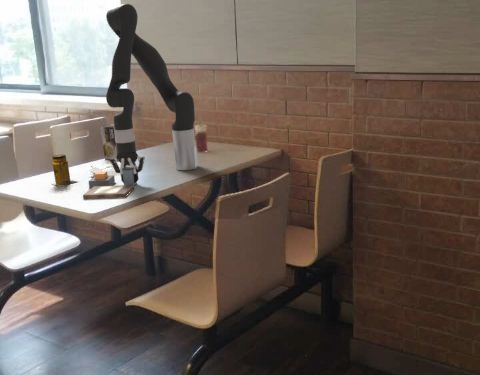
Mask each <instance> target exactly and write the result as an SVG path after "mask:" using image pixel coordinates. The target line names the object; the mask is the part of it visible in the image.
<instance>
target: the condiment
mask: <svg viewBox="0 0 480 375" xmlns="http://www.w3.org/2000/svg"><path fill="white" fill-rule="evenodd" d="M68 163H69V162H68V160H67V157H66V154H55V155H53V156H52V168H53V174H54V175H53V176H54V182H55V183H52V185H54V186H59V187H65V186H68V185H71V184H74V183H77V182H79V181H78V180H72V179H71V176H70V174H71V173H70V168H69V164H68Z"/></svg>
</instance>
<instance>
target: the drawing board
mask: <svg viewBox="0 0 480 375" xmlns="http://www.w3.org/2000/svg"><path fill="white" fill-rule="evenodd" d="M132 189H133V190H135V186H133V185H124V184H123V185H121V184H120V185H111V186H94V187H92V188H89V189H88V190H87V191H86V192H85V193H84V194H83V195H82V197H83V200H85V199H86V200H87V199H88V200H89V199H90V200H91V199H92V200H93V199H94V200H95V199H116V198H117V199H118V198H119V197H125V196H126V195H127V194H128V193H129V192H130V191H131V192H132V191H133V190H132ZM131 192H130V193H131ZM130 193H129V194H130ZM129 194H128V195H129ZM128 195H127V196H128ZM127 196H126V197H127ZM126 197H125V198H126ZM119 199H120V198H119Z"/></svg>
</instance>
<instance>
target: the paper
mask: <svg viewBox="0 0 480 375" xmlns="http://www.w3.org/2000/svg"><path fill="white" fill-rule="evenodd" d="M117 164H118V166H119V168H120V167H121V163H120V162H119V161H117ZM127 166H128V165H127ZM107 168H109V169H107ZM120 169H121V168H120ZM105 171H107V174H108V175H114V177H117V175H118V176H121V174H120V173H116V172H115V170H114V168H113V165H112V164H110V165H108V166H105V167H103V168H102V167H101V168H99V167H95V166H93V165H91V166H90V170H88V172H90V173H94V174H95V173H97V172H105Z"/></svg>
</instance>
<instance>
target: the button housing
mask: <svg viewBox="0 0 480 375" xmlns="http://www.w3.org/2000/svg"><path fill="white" fill-rule="evenodd" d="M115 183H116V179H115V176H114V175H108V178H106V179H103V180H95V176H93V177H92V178H91V179H89V180H88V188H89V189H91V188H92V187H94V186H114V184H115Z"/></svg>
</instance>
